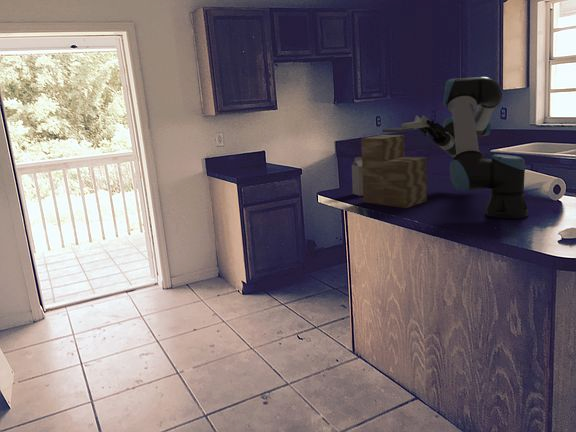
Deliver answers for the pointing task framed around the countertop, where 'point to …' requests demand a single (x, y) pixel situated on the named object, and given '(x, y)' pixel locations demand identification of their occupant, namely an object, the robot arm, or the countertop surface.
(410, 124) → the turner
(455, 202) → the countertop surface
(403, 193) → the oak step block
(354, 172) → the milk carton
